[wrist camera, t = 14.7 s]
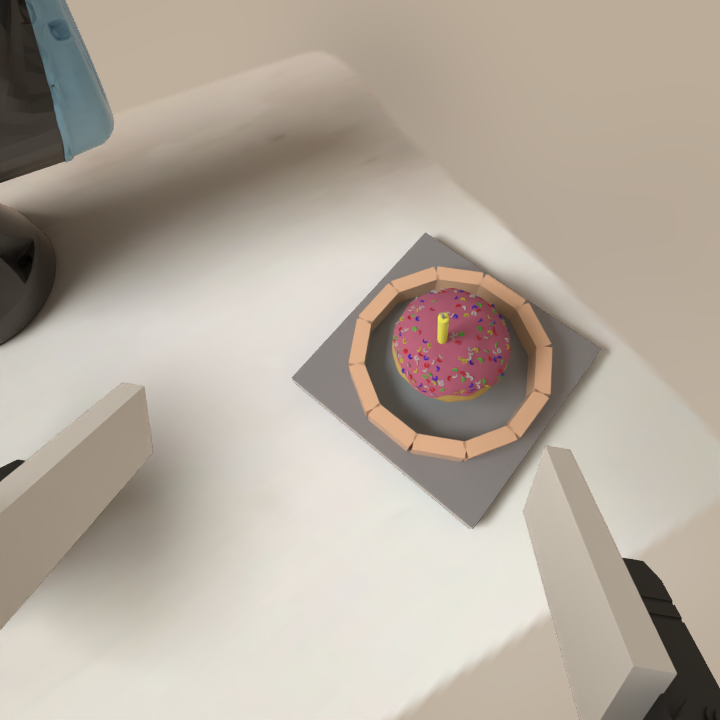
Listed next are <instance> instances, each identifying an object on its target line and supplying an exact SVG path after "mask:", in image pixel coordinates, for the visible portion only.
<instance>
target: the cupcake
mask: <svg viewBox="0 0 720 720" xmlns="http://www.w3.org/2000/svg"><path fill="white" fill-rule="evenodd" d="M440 289H442V288H440ZM432 291H433V292H432ZM432 291H431V293H428V294H425V295H423V296H420V297H418V296H417V297H416V299H415V300H413V301H412V302H411V303H410V304H409V305H408V307H407V309H406V310H405V312H404V313H403V314H402V316H401V317H400V319H399V320H398V322H396V326H395V329H394V336H393V343H392V351H393V357H394V360H395V364H396V367H397V370H398V372H399V373H400V375H401V376H402V377H403V378H404V379H405V380H406V381H407V382H408V383H409V384H410V385H411V386H412V387H413V388H414V389H415V390H416V391H418V392H420V393H421V394H423V395H425V396H428V397H431V398H435V399H438V400H441V401H444V402H457V401H469V400H473V399H475V398H477V397H479V396H481V395H482V394H483V393H485V392H486V391H487V390H488V389H489V388H491V387H492V386H493V385H494V384H496V383H497V382H498V381H499V380H500V378H501V376H503V375H504V371H505V369H506V367H507V364H508V361H509V358H510V350H511V347H510V338H509V332H510V331H509V330H508V329H507V326H506V324H505V322H504V321H505V320H503V319H502V316H501V315H500V314H499V313H498V312H497V311H496V310H495V309H494V304H491V305H490V304H489V303H488V302H486V301H485V300H484V299H482V298H481V297H479V296H478V295H475V294H473V293H470V292H466V291H463V290H459V289H456V288H447V289H442V290H438V291H435V290H432ZM492 305H493V306H492ZM508 331H509V332H508Z"/></svg>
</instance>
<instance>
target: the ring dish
mask: <svg viewBox="0 0 720 720" xmlns="http://www.w3.org/2000/svg"><path fill="white" fill-rule="evenodd" d="M440 288H442V289H447V288H456V289H459V290H463V291H466V292H470V293H473V294H475V295H478V296H479V297H481V298H482V299H484V300H485V301H486V302H488V303H489V304H490V305H491V304H494V309H495V310H496V311H497V312H498V313H499V314H500V315H501V316H502V319H503V320H505V321H504V322H505V324H506V326H507V329H508V330H509V331H510V332H509V331H508V332H509V338H510V347H511V350H510V358H509V361H508V364H507V367H506V369H505V371H504V375H503V376H501V378H500V380H499V381H498V382H497V383H496V384H494V385H493V386H492V387H491V388H489V389H488V390H487V391H486V392H485V393H483V394H482V395H481V396H479V397H477V398H475V399H473V400H469V401H457V402H444V401H441V400H438V399H435V398H431V397H428V396H425V395H423V394H421V393H420V392H418V391H416V390H415V389H414V388H413V387H412V386H411V385H410V384H409V383H408V382H407V381H406V380H405V379H404V378H403V377H402V376H401V375H400V373H399V372H398V370H397V367H396V364H395V360H394V357H393V351H392V343H393V336H394V329H395V326H396V322H398V320H399V319H400V317H401V316H402V314H403V313H404V312H405V310H406V309H407V307H408V305H409V304H410V303H411V302H412V301H413V300H415V299H416V297H417V296H418V297H420V296H423V295H425V294H428V293H431V291H432V290H435V291H438V290H442V289H440ZM432 292H433V291H432ZM492 306H493V305H492ZM600 350H601V349H600V348H599V347H597V346H596V345H594V344H593V343H591V342H590V341H588V340H587V339H585V338H584V337H582V336H581V335H579V334H578V333H576V332H575V331H573V330H572V329H570V328H569V327H567V326H566V325H564V324H563V323H561V322H560V321H558V320H557V319H555V318H554V317H552V316H551V315H549V314H548V313H546V312H545V311H543V310H542V309H540V308H539V307H537V306H535V305H534V304H532V303H531V302H529V301H528V300H526V299H525V298H523V297H522V296H520V295H519V294H517V293H516V292H514V291H513V290H511V289H510V288H508V287H507V286H505V285H504V284H502V283H501V282H499V281H498V280H496V279H495V278H493V277H492V276H490V275H489V274H487V273H486V272H484V271H483V270H481V269H480V268H478V267H477V266H475V265H474V264H472V263H471V262H469V261H468V260H466V259H465V258H463V257H462V256H460V255H459V254H457V253H456V252H454V251H453V250H451V249H450V248H448V247H447V246H445V245H444V244H442V243H441V242H439V241H438V240H436V239H435V238H433V237H432V236H430V235H428V234H427V233H424V235H423V236H422V237H421V238H420V239H419V240H418V241H417V242H416V243H415V244H414V245H413V247H412V248H411V249H410V250H409V251H408V252H407V253H406V254H405V255H404V256H403V257H402V258H401V260H400V261H399V262H398V263H397V264H396V265H395V266H394V267H393V268H392V269H391V270H390V272H389V273H388V274H387V275H386V276H385V277H384V278H383V279H382V280H381V281H380V282H379V283H378V285H377V286H376V287H375V288H374V289H373V290H372V291H371V292H370V293H369V294H368V295H367V297H366V298H365V299H364V300H363V301H362V302H361V303H360V304H359V305H358V306H357V307H356V308H355V310H354V311H353V312H352V313H351V314H350V315H349V316H348V317H347V318H346V319H345V320H344V322H343V323H342V324H341V325H340V326H339V327H338V328H337V329H336V330H335V331H334V332H333V333H332V335H331V336H330V337H329V338H328V339H327V340H326V341H325V342H324V343H323V344H322V345H321V347H320V348H319V349H318V350H317V351H316V352H315V353H314V354H313V355H312V356H311V357H310V358H309V360H308V361H307V362H306V363H305V364H304V365H303V366H302V367H301V368H300V369H299V370H298V372H297V373H296V374H295V375H294V376H293V377H292V379H293V381H294V383H295V384H296V385H297V386H299V387H300V388H301V389H302V390H303V391H305V392H306V393H307V394H308V395H309V396H311V397H312V398H313V399H314V400H315V401H317V402H318V403H319V404H320V405H321V406H323V407H324V408H325V409H326V410H327V411H329V412H330V413H331V414H332V415H333V416H335V417H336V418H337V419H338V420H339V421H341V422H342V423H343V424H344V425H345V426H347V427H348V428H349V429H350V430H351V431H353V432H354V433H355V434H356V435H357V436H359V437H360V438H361V439H362V440H363V441H365V442H366V443H367V444H368V445H369V446H371V447H372V448H373V449H374V450H375V451H377V452H378V453H379V454H380V455H381V456H383V457H384V458H385V459H386V460H387V461H389V462H390V463H391V464H392V465H393V466H395V467H396V468H397V469H398V470H399V471H401V472H402V473H403V474H404V475H405V476H407V477H408V478H409V479H410V480H411V481H413V482H414V483H415V484H416V485H417V486H419V487H420V488H421V489H422V490H423V491H425V492H426V493H427V494H428V495H429V496H431V497H432V498H433V499H434V500H435V501H437V502H438V503H439V504H440V505H441V506H443V507H444V508H445V509H446V510H447V511H449V512H450V513H451V514H452V515H453V516H455V517H456V518H457V519H458V520H459V521H461V522H462V523H463V524H464V525H465V526H466V527H468V528H469V529H473V528H474V527H475V525H476V524H477V523H478V521H479V520H480V518H481V517H482V516H483V514H484V513H485V511H486V510H487V509H488V507H489V506H490V504H491V503H492V502H493V500H494V499H495V497H496V496H497V495H498V493H499V492H500V490H501V489H502V488H503V486H504V485H505V483H506V482H507V481H508V479H509V478H510V476H511V475H512V474H513V472H514V471H515V469H516V468H517V467H518V465H519V464H520V462H521V461H522V460H523V458H524V457H525V455H526V454H527V453H528V451H529V450H530V448H531V447H532V446H533V444H534V443H535V441H536V440H537V439H538V437H539V436H540V434H541V433H542V432H543V430H544V429H545V427H546V426H547V425H548V423H549V422H550V420H551V419H552V418H553V416H554V415H555V413H556V412H557V411H558V409H559V408H560V406H561V405H562V404H563V402H564V401H565V399H566V398H567V397H568V395H569V394H570V392H571V391H572V390H573V388H574V387H575V385H576V384H577V383H578V381H579V380H580V378H581V377H582V376H583V374H584V373H585V371H586V370H587V369H588V367H589V366H590V364H591V363H592V362H593V360H594V359H595V357H596V356H597V355H598V353H599V352H600Z"/></svg>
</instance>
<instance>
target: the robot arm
mask: <svg viewBox="0 0 720 720" xmlns="http://www.w3.org/2000/svg"><path fill="white" fill-rule="evenodd" d="M113 128H114V119H113V115H112V111H111V108H110V106H109V103H108V100H107V97H106V95H105V93H104V89H103V87H102V85H101V82H100V79H99V77H98V75H97V72H96V70H95V67H94V65H93V63H92V60H91V58H90V55H89V53H88V51H87V49H86V46H85V44H84V42H83V39H82V37H81V35H80V32H79V30H78V28H77V25H76V23H75V21H74V19H73V17H72V14H71V12H70V10H69V7H68V5H67V3H66V1H65V0H0V183H1V182H4V181H7V180H10V179H13V178H16V177H19V176H22V175H25V174H28V173H31V172H34V171H37V170H40V169H43V168H46V167H49V166H52V165H55V164H58V163H61V162H64V161H65V162H69V161H71V160H72V159H73V157H74V156H76V155H78V154H80V153H83V152H85V151H87V150H90V149H92V148H94V147H97V146H99V145H101V144H103V143H105V141H106V140H108V138H109V137H110V135H111V133H112V131H113ZM54 275H55V256H54V252H53V249H52V246H51V244H50V242H49V240H48V239H47V237H46V236H45V235H44V233H43V232H42V231H41V230H40V229H39V228H37V227H36V226H35V225H34V224H33V223H32V222H30V221H29V220H28V219H27V218H26V217H25V216H23V215H22V214H20V213H19V212H17V211H16V210H14V209H12V208H10V207H8V206H5V205H3V204H1V203H0V344H1V343H3V342H5V341H6V340H8V339H9V338H11V337H12V336H14V335H15V334H17V333H18V332H19V331H20V330H21V329H23V328H24V327H25V326H26V325H27V324H28V323H29V322H30V321H31V320H32V319H33V317H34V316H35V315H36V314H37V312H38V311H39V310H40V308H41V307H42V305H43V304H44V302H45V300H46V298H47V296H48V294H49V292H50V290H51V287H52V284H53V280H54ZM152 453H153V447H152V440H151V432H150V425H149V418H148V410H147V403H146V396H145V388H144V386H141V385H134V384H128V383H121V384H120V385H119V386H118V387H116V388H115V389H114V390H113V391H111V392H110V393H109V394H108V395H106V396H105V397H104V398H103V399H102V400H100V401H99V402H98V403H97V404H95V405H94V406H93V407H92V408H90V409H89V410H88V411H87V412H86V413H84V414H83V415H82V416H81V417H79V418H78V419H77V420H76V421H74V422H73V423H72V424H71V425H70V426H68V427H67V428H66V429H65V430H63V431H62V432H61V433H60V434H58V435H57V436H56V437H55V438H54V439H52V440H51V441H50V442H49V443H47V444H46V445H45V446H44V447H42V448H41V449H40V450H39V451H38V452H36V453H35V454H34V455H33V456H31V457H30V458H29V459H28V460H26V461H23V460H16V461H14V462H11V463H9V464H7V465H5V466H3V467H1V468H0V630H1V629H2V628H3V627H4V625H5V624H6V623H7V622H8V621H9V620H10V618H11V617H12V616H13V615H14V614H15V613H16V611H17V610H18V609H19V608H20V607H21V606H22V605H23V603H24V602H25V601H26V600H27V599H28V598H29V596H30V595H31V594H32V593H33V592H34V591H35V589H36V588H37V587H38V586H39V585H40V584H41V582H42V581H43V580H44V579H45V578H46V577H47V575H48V574H49V573H50V572H51V571H52V570H53V568H54V567H55V566H56V565H57V564H58V563H59V561H60V560H61V559H62V558H63V557H64V556H65V554H66V553H67V552H68V551H69V550H70V549H71V547H72V546H73V545H74V544H75V543H76V542H77V540H78V539H79V538H80V537H81V536H82V535H83V533H84V532H85V531H86V530H87V529H88V528H89V526H90V525H91V524H92V523H93V522H94V521H95V520H96V518H97V517H98V516H99V515H100V514H101V513H102V511H103V510H104V509H105V508H106V507H107V506H108V504H109V503H110V502H111V501H112V500H113V499H114V497H115V496H116V495H117V494H118V493H119V492H120V490H121V489H122V488H123V487H124V486H125V485H126V483H127V482H128V481H129V480H130V479H131V478H132V476H133V475H134V474H135V473H136V472H137V471H138V469H139V468H140V467H141V466H142V465H143V464H144V462H145V461H146V460H147V459H148V458H149V457H150V455H151V454H152ZM523 513H524V517H525V520H526V524H527V528H528V531H529V535H530V539H531V543H532V546H533V550H534V554H535V557H536V561H537V565H538V568H539V572H540V576H541V580H542V583H543V587H544V591H545V594H546V598H547V602H548V605H549V609H550V613H551V617H552V620H553V624H554V628H555V631H556V635H557V639H558V643H559V646H560V650H561V653H562V657H563V661H564V665H565V668H566V672H567V676H568V679H569V683H570V686H571V691H572V694H573V698H574V702H575V705H576V709H577V713H578V717H579V720H720V688H719V686H718V684H717V682H716V681H715V679H714V677H713V675H712V673H711V672H710V670H709V668H708V666H707V664H706V662H705V660H704V658H703V657H702V655H701V653H700V651H699V649H698V647H697V646H696V644H695V642H694V640H693V638H692V636H691V635H690V633H689V631H688V629H687V627H686V625H685V623H683V622H682V621H681V619H682V618H681V616H680V614H679V612H678V610H677V609H676V607H675V605H673V604H672V599H671V597H670V596H669V594H668V592H667V590H666V588H665V586H664V585H663V583H662V581H661V580H660V579H659V577H658V576H657V575H656V574H655V573H654V572H653V571H652V570H651V569H650V568H649V567H648V566H647V565H646V564H645V563H644V562H643V561H639V560H633V559H627V558H622V557H621V555H620V553H619V550H618V548H617V546H616V544H615V542H614V540H613V538H612V536H611V534H610V532H609V529H608V527H607V525H606V523H605V521H604V519H603V517H602V515H601V513H600V511H599V508H598V506H597V504H596V502H595V500H594V498H593V496H592V494H591V492H590V490H589V487H588V485H587V483H586V481H585V479H584V477H583V475H582V473H581V471H580V469H579V466H578V464H577V462H576V460H575V458H574V456H573V454H572V452H571V450H569V449H563V448H556V447H549V446H545V449H544V452H543V455H542V458H541V461H540V464H539V466H538V469H537V472H536V475H535V478H534V481H533V484H532V487H531V490H530V493H529V496H528V498H527V501H526V504H525V507H524V510H523Z"/></svg>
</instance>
